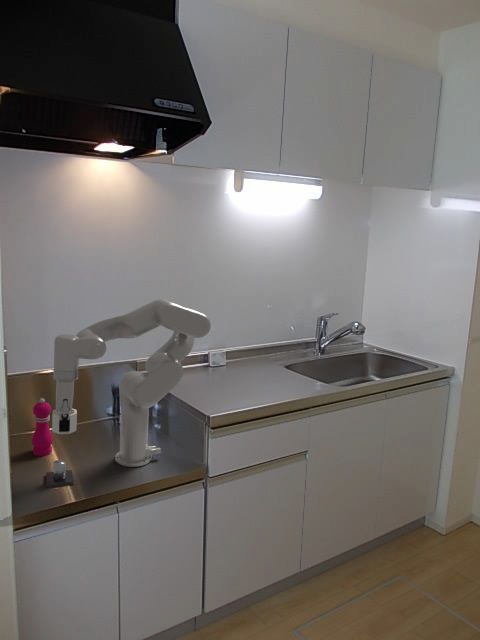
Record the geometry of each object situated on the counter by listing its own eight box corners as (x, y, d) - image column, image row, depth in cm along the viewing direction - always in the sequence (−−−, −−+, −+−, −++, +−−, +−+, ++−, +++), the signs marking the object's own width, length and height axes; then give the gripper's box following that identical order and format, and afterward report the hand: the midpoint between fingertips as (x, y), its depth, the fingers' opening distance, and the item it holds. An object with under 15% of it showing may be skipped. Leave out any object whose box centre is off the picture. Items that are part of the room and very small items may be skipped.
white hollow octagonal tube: (76, 424, 182) (76, 407, 181) (76, 433, 175) (77, 415, 174) (52, 425, 180) (52, 407, 178) (51, 434, 173) (52, 416, 172)
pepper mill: (57, 449, 196) (57, 396, 192) (44, 458, 189) (44, 403, 185) (40, 446, 198) (39, 393, 194) (27, 454, 191) (26, 400, 187)
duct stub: (71, 472, 181) (72, 455, 180) (73, 484, 173) (73, 467, 172) (46, 475, 178) (46, 458, 177) (46, 487, 171) (46, 469, 169)
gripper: (54, 365, 181) (52, 416, 184) (52, 382, 164) (51, 437, 168) (77, 366, 183) (75, 416, 186) (79, 382, 167) (76, 436, 170)
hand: (64, 426), depth 177 cm, fingers closed on white hollow octagonal tube, 7 cm apart
